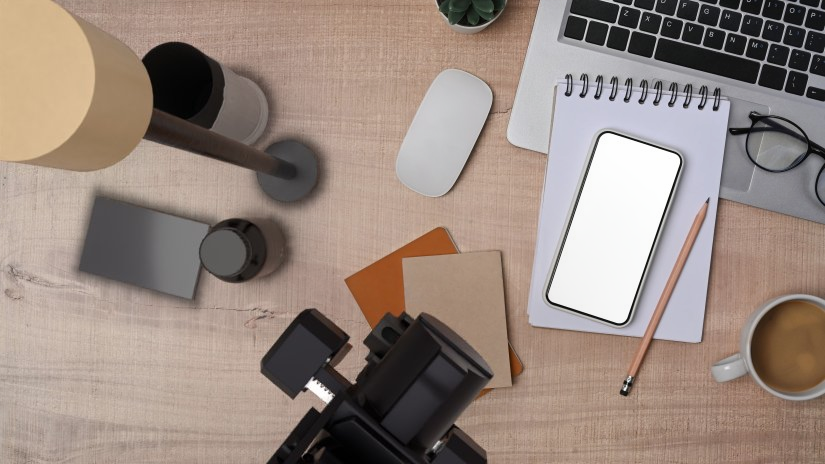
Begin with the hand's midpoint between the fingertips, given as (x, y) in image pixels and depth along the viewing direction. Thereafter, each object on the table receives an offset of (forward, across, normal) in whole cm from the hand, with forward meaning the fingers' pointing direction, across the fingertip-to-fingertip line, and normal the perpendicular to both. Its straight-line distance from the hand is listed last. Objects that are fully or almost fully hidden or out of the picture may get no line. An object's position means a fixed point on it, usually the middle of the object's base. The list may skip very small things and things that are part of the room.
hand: (386, 381), depth 56 cm
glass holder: (+15, +35, -7) cm, 38 cm away
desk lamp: (+15, +23, -7) cm, 28 cm away
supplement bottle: (+14, +20, +2) cm, 25 cm away
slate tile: (+14, +30, +10) cm, 35 cm away
